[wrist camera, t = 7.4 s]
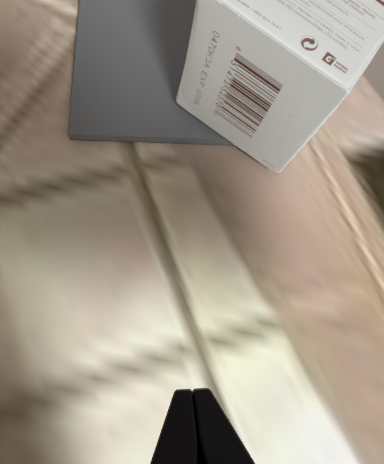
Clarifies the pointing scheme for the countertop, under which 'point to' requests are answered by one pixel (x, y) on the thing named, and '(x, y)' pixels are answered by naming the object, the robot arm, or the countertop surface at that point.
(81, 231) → the countertop surface
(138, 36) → the rubber mat
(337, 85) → the supplement box
